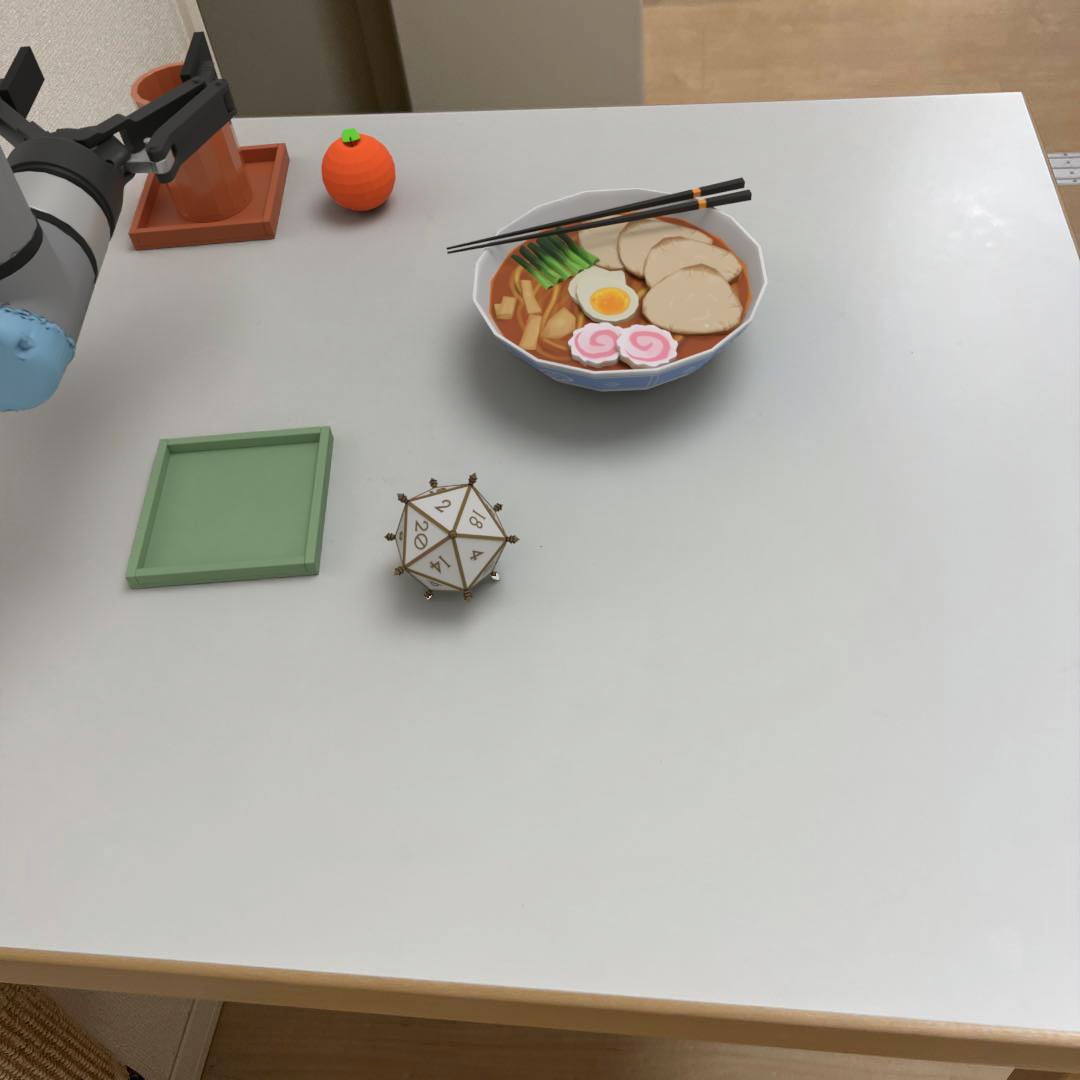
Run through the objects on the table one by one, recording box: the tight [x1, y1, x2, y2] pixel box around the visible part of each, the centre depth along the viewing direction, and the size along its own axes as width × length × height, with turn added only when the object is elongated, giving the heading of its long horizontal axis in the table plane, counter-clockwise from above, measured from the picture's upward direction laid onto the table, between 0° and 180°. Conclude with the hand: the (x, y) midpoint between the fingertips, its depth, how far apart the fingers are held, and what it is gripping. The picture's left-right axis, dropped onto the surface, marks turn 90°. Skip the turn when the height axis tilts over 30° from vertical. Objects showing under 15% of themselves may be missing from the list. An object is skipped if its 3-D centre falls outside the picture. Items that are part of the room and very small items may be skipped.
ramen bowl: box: [446, 176, 769, 393], centre depth 85 cm, size 25×23×8 cm
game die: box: [383, 472, 521, 604], centre depth 71 cm, size 9×8×10 cm
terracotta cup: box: [130, 61, 253, 223], centre depth 100 cm, size 8×8×12 cm
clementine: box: [320, 127, 397, 212], centre depth 101 cm, size 8×7×7 cm
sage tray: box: [124, 425, 335, 589], centre depth 79 cm, size 13×13×1 cm
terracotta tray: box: [127, 142, 291, 251], centre depth 104 cm, size 13×13×2 cm
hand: (118, 55), depth 84 cm, fingers open, 13 cm apart
